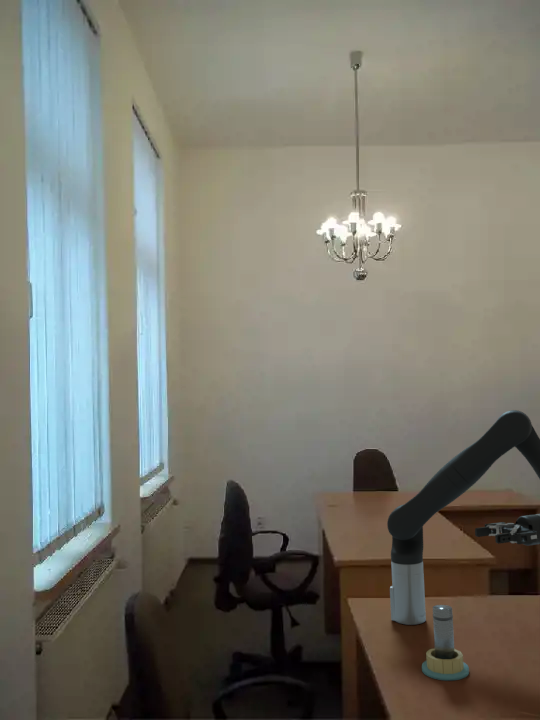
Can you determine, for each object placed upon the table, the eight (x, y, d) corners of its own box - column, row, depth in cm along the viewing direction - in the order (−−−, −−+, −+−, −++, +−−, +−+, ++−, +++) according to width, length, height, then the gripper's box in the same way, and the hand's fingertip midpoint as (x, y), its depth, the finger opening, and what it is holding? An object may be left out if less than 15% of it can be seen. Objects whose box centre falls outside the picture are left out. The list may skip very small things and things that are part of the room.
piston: (432, 668, 169) (429, 609, 169) (439, 661, 173) (436, 603, 173) (451, 671, 166) (448, 612, 167) (458, 664, 170) (455, 606, 170)
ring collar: (414, 674, 168) (414, 657, 168) (432, 658, 177) (431, 642, 177) (459, 684, 162) (458, 666, 162) (475, 667, 171) (474, 650, 171)
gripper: (519, 510, 190) (468, 516, 185) (556, 519, 177) (502, 526, 172) (521, 538, 190) (470, 544, 185) (558, 549, 177) (504, 556, 171)
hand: (485, 535), depth 178 cm, fingers open, 8 cm apart
